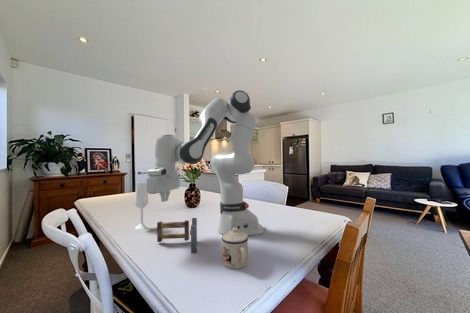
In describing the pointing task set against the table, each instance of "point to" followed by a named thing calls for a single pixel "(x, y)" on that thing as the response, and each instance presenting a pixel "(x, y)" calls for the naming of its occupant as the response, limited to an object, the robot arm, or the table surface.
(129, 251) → the table surface
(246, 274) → the table surface
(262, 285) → the table surface
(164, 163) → the robot arm
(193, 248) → the posts
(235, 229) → the teacup with lid
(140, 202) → the champagne flute
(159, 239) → the gate
